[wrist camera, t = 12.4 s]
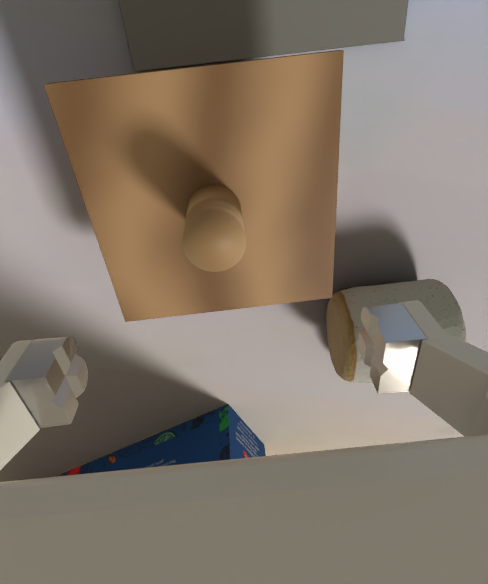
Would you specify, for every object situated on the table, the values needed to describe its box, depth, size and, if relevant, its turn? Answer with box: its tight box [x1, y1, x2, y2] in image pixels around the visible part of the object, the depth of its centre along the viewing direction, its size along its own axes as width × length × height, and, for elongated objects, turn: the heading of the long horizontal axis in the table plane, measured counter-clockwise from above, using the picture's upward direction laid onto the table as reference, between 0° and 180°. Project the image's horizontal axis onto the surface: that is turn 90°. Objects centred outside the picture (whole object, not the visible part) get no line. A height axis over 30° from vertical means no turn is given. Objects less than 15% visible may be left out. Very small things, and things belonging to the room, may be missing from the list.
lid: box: [44, 50, 343, 322], centre depth 18 cm, size 13×13×5 cm
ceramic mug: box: [326, 279, 466, 383], centre depth 29 cm, size 11×8×8 cm
